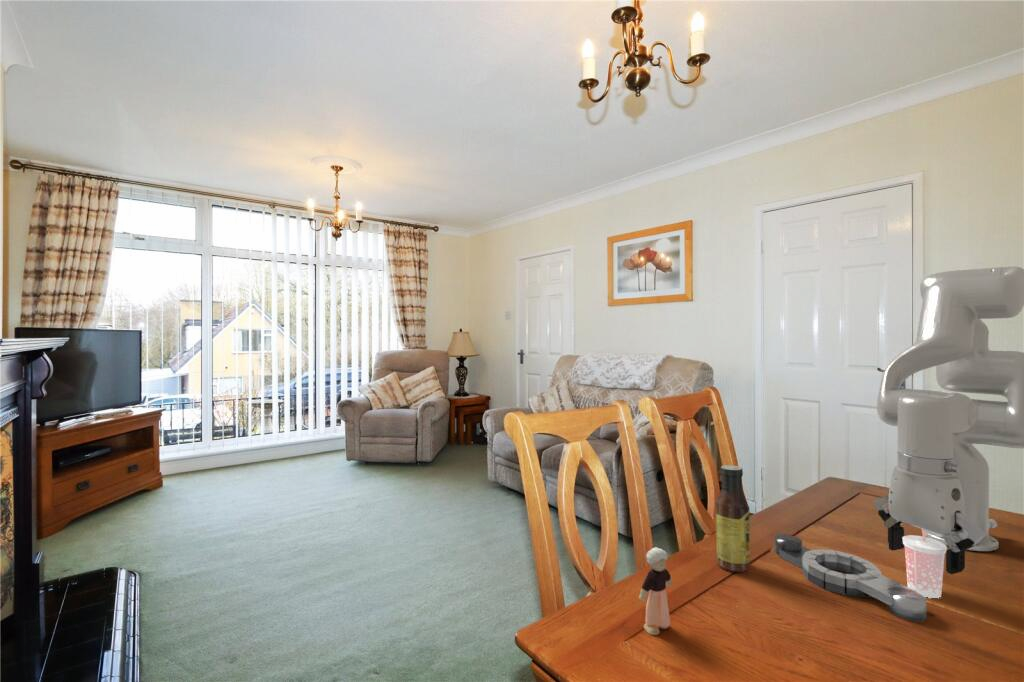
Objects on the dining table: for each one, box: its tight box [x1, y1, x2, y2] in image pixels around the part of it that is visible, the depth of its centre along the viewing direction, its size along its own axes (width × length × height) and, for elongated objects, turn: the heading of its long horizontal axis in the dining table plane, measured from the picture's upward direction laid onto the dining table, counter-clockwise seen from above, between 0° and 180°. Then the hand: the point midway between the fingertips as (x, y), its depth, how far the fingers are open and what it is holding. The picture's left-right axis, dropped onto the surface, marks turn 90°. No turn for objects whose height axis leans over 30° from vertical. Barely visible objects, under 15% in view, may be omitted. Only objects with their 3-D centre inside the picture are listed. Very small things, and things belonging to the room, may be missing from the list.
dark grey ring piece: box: [774, 533, 872, 598], centre depth 95 cm, size 12×20×3 cm, turn 18°
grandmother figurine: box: [638, 546, 673, 636], centre depth 77 cm, size 8×4×13 cm, turn 137°
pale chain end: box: [802, 548, 927, 623], centre depth 87 cm, size 12×20×3 cm, turn 18°
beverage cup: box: [902, 529, 948, 599], centre depth 86 cm, size 6×6×14 cm
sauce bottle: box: [715, 464, 751, 573], centre depth 97 cm, size 7×6×20 cm
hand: (924, 559), depth 86 cm, fingers open, 8 cm apart
